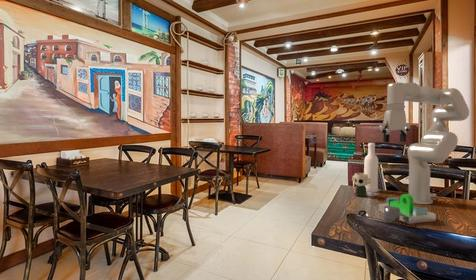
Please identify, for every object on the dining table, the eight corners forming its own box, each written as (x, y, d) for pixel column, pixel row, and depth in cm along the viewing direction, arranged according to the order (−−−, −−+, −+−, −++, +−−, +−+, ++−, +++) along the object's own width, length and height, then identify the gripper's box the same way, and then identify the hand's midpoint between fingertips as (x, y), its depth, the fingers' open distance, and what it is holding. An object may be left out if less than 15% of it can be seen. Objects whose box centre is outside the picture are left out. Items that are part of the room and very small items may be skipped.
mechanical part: (421, 212, 120) (421, 195, 119) (409, 213, 119) (409, 196, 118) (400, 204, 131) (401, 188, 131) (389, 205, 130) (390, 189, 130)
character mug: (348, 194, 160) (349, 173, 159) (355, 192, 164) (356, 171, 163) (366, 199, 151) (366, 176, 150) (373, 196, 155) (373, 174, 154)
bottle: (360, 189, 171) (361, 143, 168) (370, 188, 173) (371, 142, 171) (371, 193, 163) (372, 144, 161) (380, 191, 166) (381, 143, 164)
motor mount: (402, 207, 136) (402, 196, 135) (435, 220, 118) (436, 207, 118) (364, 211, 131) (364, 199, 131) (392, 225, 113) (393, 211, 113)
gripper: (403, 108, 140) (403, 140, 141) (375, 108, 136) (374, 142, 137) (416, 107, 132) (415, 142, 134) (386, 107, 129) (385, 143, 130)
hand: (394, 141), depth 135 cm, fingers open, 9 cm apart
